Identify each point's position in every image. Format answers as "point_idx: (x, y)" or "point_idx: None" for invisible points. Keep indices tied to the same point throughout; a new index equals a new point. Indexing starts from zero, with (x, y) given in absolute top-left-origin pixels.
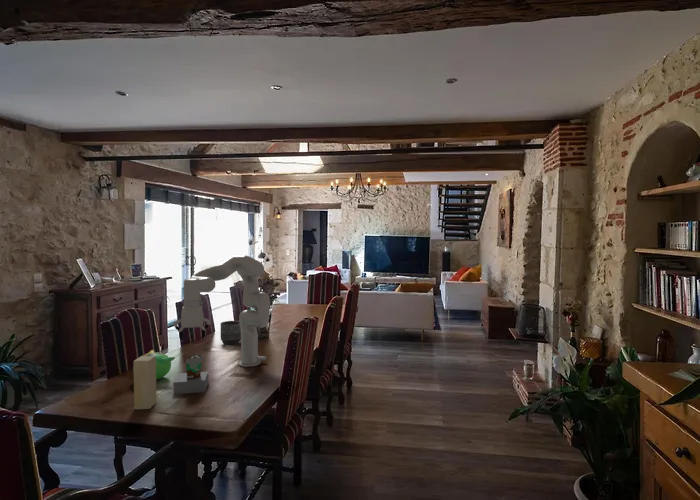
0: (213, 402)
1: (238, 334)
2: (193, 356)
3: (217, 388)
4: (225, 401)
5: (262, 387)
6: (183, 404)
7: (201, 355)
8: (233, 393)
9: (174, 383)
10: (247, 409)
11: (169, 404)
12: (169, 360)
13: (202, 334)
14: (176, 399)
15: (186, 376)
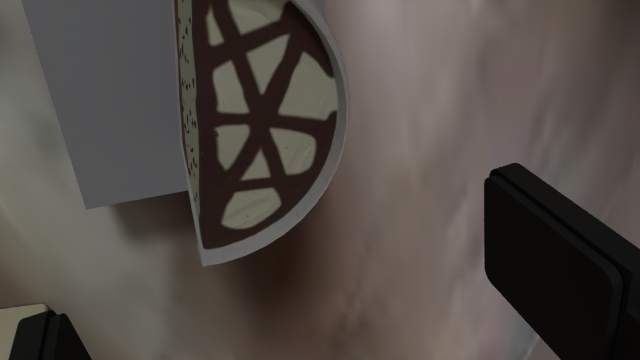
0: (380, 274)
1: None
2: (223, 55)
3: (379, 61)
4: (435, 259)
5: (630, 59)
6: (231, 310)
7: (336, 65)
8: (474, 153)
9: (95, 202)
10: (519, 326)
11: (149, 317)
12: None
13: (547, 335)
14: (159, 251)
15: (139, 52)
